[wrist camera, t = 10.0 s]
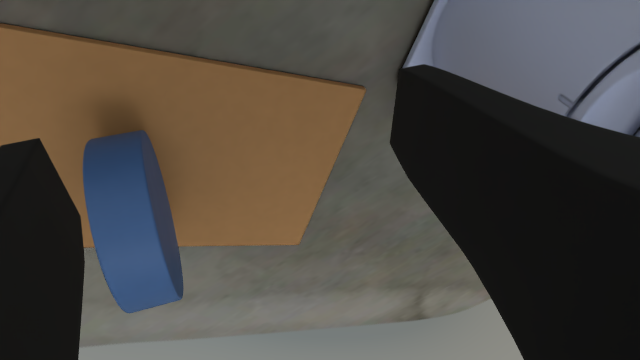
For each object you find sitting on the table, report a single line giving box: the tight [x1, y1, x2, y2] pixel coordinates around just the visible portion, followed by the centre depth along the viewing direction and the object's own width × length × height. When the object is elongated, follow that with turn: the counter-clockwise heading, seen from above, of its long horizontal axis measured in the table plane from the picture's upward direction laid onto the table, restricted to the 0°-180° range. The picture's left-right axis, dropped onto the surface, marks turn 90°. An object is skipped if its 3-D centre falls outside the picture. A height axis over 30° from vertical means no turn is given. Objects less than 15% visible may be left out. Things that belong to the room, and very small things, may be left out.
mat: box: [0, 23, 366, 248], centre depth 21 cm, size 20×11×1 cm, turn 71°
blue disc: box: [83, 130, 183, 313], centre depth 18 cm, size 2×7×7 cm, turn 1°
